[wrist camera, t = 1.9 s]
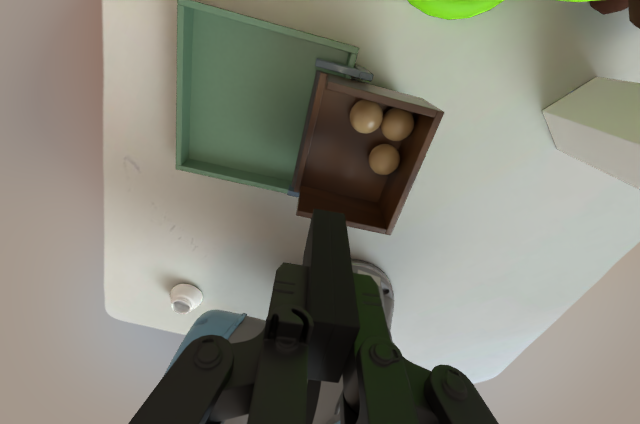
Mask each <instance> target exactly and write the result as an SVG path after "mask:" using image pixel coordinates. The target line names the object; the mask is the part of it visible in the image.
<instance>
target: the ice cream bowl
mask: <svg viewBox="0 0 640 424" xmlns="http://www.w3.org/2000/svg"><path fill="white" fill-rule="evenodd" d="M590 4H591V7H593V8H594V9H596V10H597V11H599V12H600V13H602V14H603V15H604V14H609V13H613V12H617V11H621V10H624V9H626V8H628V7H629V19H630V21H631V22H632V23H633V24H634V25H635V26H636V27H638V28H639V29H640V0H596V1H590Z"/></svg>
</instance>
